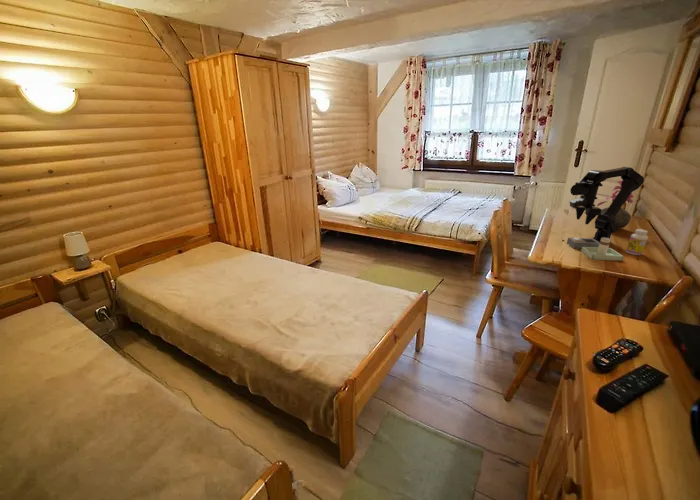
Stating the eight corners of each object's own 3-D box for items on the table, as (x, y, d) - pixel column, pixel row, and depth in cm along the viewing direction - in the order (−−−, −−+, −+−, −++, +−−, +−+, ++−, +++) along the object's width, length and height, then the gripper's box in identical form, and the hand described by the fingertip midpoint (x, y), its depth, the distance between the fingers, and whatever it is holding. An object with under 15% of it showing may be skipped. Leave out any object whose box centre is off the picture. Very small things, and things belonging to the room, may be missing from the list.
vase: (630, 233, 196) (648, 185, 184) (597, 231, 201) (612, 183, 190) (619, 225, 211) (634, 180, 199) (588, 223, 216) (601, 178, 204)
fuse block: (591, 244, 181) (593, 237, 180) (599, 249, 174) (601, 242, 172) (566, 243, 183) (568, 236, 181) (573, 248, 176) (575, 241, 174)
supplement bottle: (622, 250, 172) (630, 228, 167) (634, 250, 172) (643, 228, 167) (631, 255, 166) (640, 232, 161) (644, 255, 166) (653, 232, 161)
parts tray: (609, 252, 170) (610, 248, 169) (622, 260, 160) (623, 256, 159) (580, 251, 172) (582, 246, 171) (591, 259, 162) (593, 255, 161)
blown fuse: (602, 253, 168) (608, 237, 164) (607, 256, 164) (612, 240, 160) (594, 253, 168) (599, 237, 165) (598, 256, 165) (604, 240, 161)
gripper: (565, 190, 183) (559, 216, 189) (582, 198, 166) (574, 226, 172) (586, 190, 181) (579, 217, 187) (606, 198, 164) (597, 227, 170)
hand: (582, 221), depth 179 cm, fingers open, 9 cm apart
